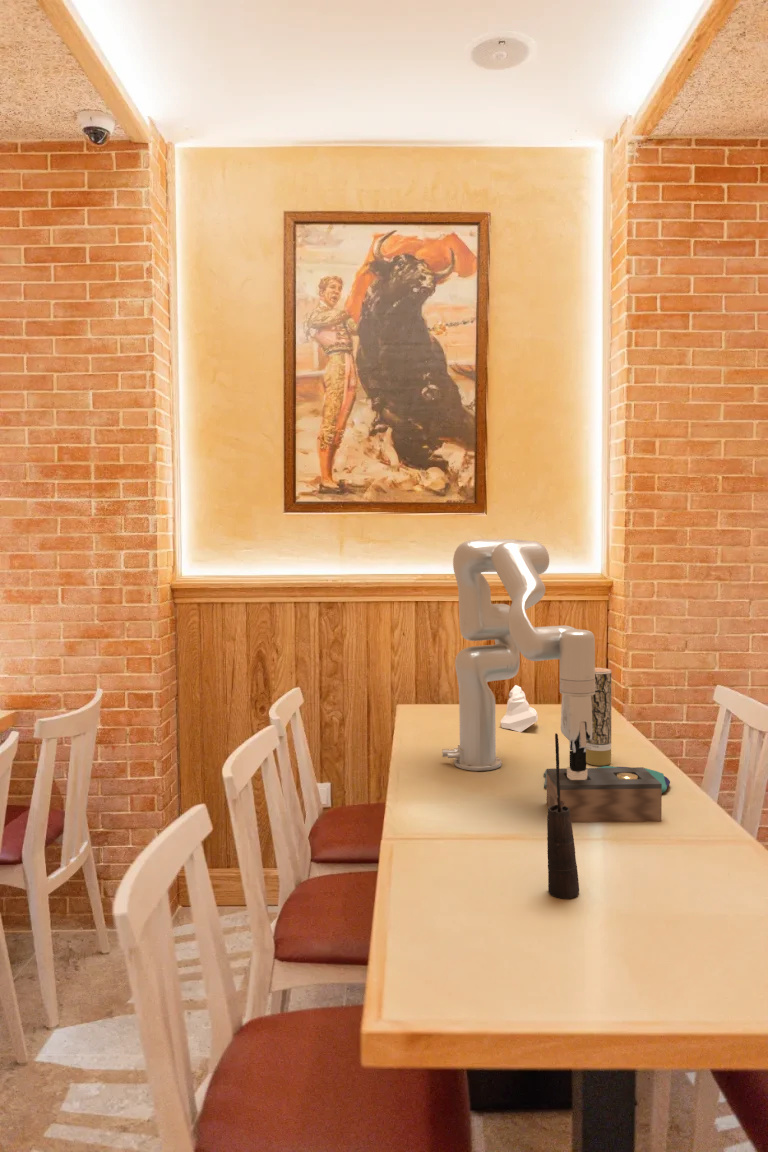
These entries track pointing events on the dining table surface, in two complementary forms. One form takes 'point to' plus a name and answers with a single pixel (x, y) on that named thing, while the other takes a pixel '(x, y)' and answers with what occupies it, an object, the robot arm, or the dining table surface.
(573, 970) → the dining table surface
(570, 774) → the steel peg
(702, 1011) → the dining table surface
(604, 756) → the paper tube
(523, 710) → the soft serve ice cream
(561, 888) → the butter churn
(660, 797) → the peg block
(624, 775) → the brass peg
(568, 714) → the robot arm
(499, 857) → the dining table surface
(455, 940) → the dining table surface
